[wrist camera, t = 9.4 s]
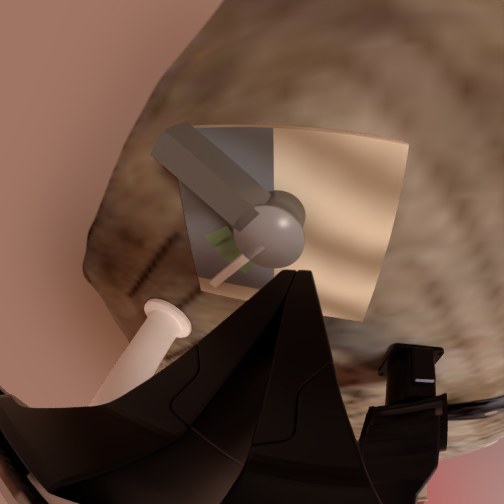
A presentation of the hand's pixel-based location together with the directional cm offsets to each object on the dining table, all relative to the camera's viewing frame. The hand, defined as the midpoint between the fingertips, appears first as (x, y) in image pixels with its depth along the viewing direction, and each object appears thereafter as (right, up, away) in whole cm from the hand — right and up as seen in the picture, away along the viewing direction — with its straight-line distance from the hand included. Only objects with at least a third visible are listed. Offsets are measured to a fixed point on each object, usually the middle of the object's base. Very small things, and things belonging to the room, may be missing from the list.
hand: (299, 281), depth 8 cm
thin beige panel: (+1, +3, +13) cm, 14 cm away
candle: (-12, -8, +27) cm, 31 cm away
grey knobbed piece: (-3, +5, +12) cm, 13 cm away
